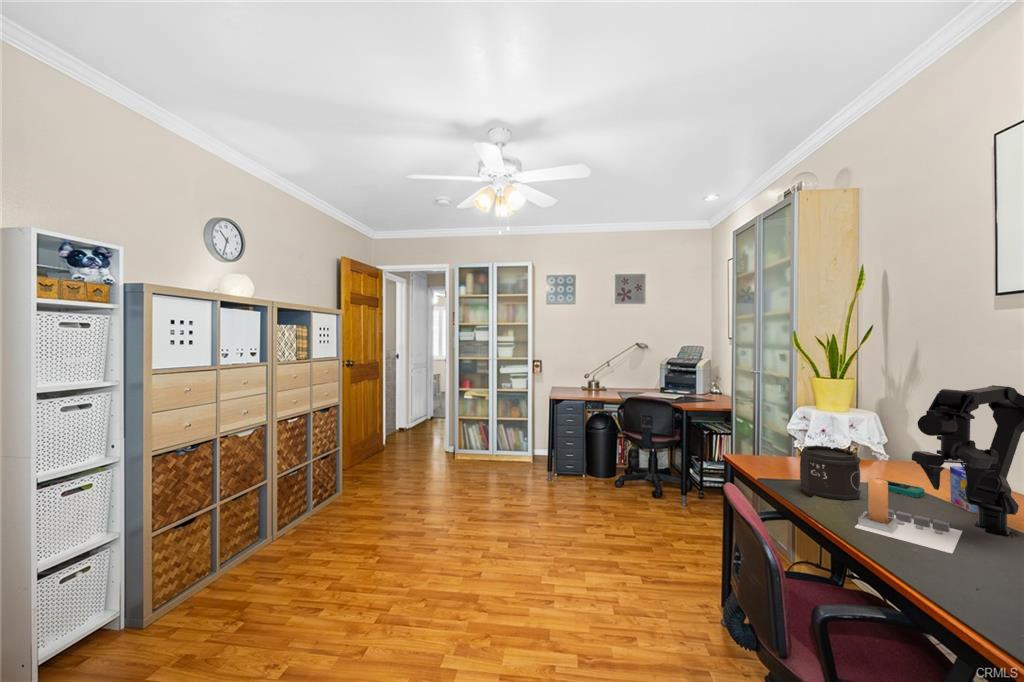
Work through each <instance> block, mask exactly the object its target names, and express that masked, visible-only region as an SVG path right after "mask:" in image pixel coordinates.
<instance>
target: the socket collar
mask: <svg viewBox="0 0 1024 682" xmlns="http://www.w3.org/2000/svg"><path fill="white" fill-rule="evenodd" d="M857 519H858V520H857V521H858V523H857V524H858V525H862V526H866V527H870V528H874V529H877V530H881V531H885V532H889V533H893V532H894V531H895V529H896V528H897V527H898V519H896V518H892V517H888V524H885V523H881V522H877V521H873V520H869V511H866V510H865V511H864V512H863V513H862V514H860V516H858V518H857Z"/></svg>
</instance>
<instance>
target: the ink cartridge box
mask: <svg viewBox="0 0 1024 682" xmlns="http://www.w3.org/2000/svg"><path fill="white" fill-rule="evenodd" d="M959 464H960V466H956V465H955V466H953V465H952V466H949V481H950V485H949V486H950V502H951V503H952V504H954V505H957V506H958V507H960V508H962V509H964V510H965V511H968V512H969V513H971V514H978V506H976V505H973V504H969V503H968V499H967V496H966V492H965V487H966V484H967V479H966V473H965V467H964V464H965V463H959Z"/></svg>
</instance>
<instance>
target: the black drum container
mask: <svg viewBox="0 0 1024 682" xmlns="http://www.w3.org/2000/svg"><path fill="white" fill-rule="evenodd" d="M798 455H799V457H800V460H799V479H800V483H799V487H800V488H801V489H802V493H803V494H806V495H807V496H808V497H810V498H813V497H814V496H818V497H822V498H824V499H832V500H842V501H848V500H849V501H850V500H858V499H859V498H860V495H861V493H862V491H861V490H860V486H861V469H860V464H861V458H860V457H858V453H857V452H855V451H852V450H849V449H845V448H841V447H840V448H839V447H833V448H832V447H831V446H825V445H807V446H804V447H803V448H802V450H801V452H799V454H798Z"/></svg>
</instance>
